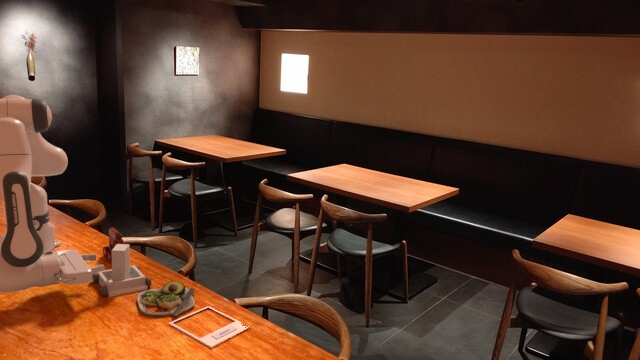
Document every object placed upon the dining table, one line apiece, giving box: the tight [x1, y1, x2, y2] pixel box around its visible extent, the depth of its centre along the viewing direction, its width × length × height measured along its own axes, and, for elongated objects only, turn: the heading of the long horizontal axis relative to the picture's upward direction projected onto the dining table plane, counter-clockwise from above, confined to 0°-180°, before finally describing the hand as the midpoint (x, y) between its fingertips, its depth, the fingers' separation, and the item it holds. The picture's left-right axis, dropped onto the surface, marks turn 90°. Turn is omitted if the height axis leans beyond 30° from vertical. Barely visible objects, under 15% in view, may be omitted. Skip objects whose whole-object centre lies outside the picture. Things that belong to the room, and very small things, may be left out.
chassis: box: [91, 264, 152, 298], centre depth 166 cm, size 15×15×4 cm
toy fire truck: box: [102, 227, 125, 263], centre depth 186 cm, size 7×12×10 cm, turn 40°
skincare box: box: [111, 243, 131, 282], centre depth 165 cm, size 6×4×12 cm
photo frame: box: [168, 305, 249, 349], centre depth 145 cm, size 15×1×18 cm
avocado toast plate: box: [136, 280, 196, 317], centre depth 155 cm, size 19×18×5 cm
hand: (99, 261), depth 161 cm, fingers open, 8 cm apart
